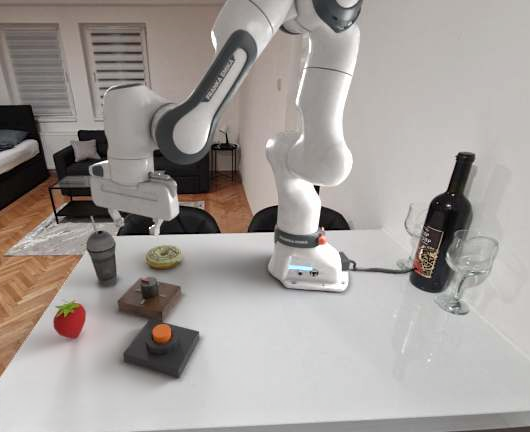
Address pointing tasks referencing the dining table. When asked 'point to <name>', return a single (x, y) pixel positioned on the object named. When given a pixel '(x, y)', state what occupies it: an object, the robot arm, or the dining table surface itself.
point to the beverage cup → (103, 256)
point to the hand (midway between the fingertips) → (136, 230)
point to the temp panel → (150, 301)
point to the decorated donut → (163, 256)
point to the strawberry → (69, 319)
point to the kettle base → (162, 349)
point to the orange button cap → (161, 333)
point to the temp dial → (149, 287)
